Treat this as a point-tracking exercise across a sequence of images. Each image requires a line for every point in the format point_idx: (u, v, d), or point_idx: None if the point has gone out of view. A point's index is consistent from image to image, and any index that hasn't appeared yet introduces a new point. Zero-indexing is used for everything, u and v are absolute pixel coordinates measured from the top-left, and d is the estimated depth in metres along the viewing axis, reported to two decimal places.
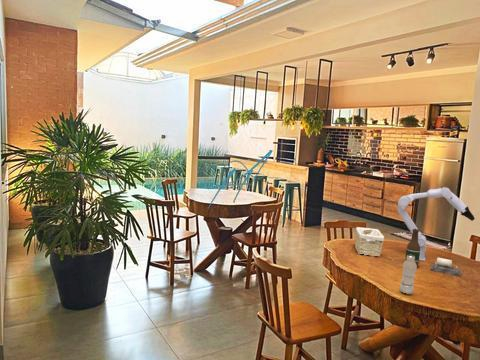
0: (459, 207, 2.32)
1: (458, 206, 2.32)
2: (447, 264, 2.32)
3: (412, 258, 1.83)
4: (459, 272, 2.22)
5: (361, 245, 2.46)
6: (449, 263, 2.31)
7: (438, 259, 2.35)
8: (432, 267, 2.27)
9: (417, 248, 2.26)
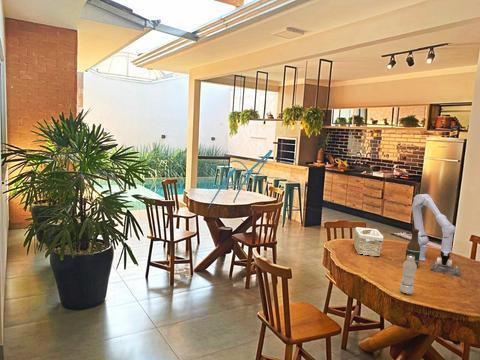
0: (445, 248, 2.32)
1: (445, 247, 2.31)
2: (447, 264, 2.32)
3: (412, 258, 1.83)
4: (459, 272, 2.22)
5: (360, 245, 2.45)
6: (449, 263, 2.31)
7: (438, 259, 2.35)
8: (432, 267, 2.27)
9: (417, 248, 2.26)
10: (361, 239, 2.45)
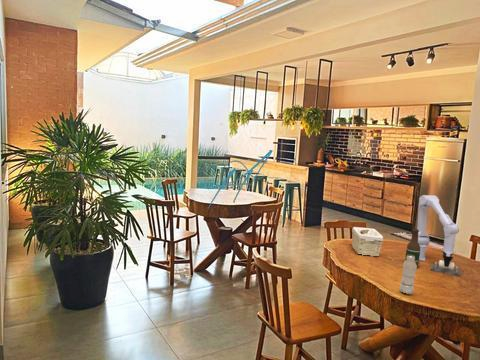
0: (447, 249, 2.22)
1: (447, 247, 2.22)
2: (449, 267, 2.22)
3: (412, 258, 1.83)
4: (459, 272, 2.22)
5: (360, 245, 2.45)
6: (452, 266, 2.22)
7: (440, 262, 2.25)
8: (432, 267, 2.27)
9: (417, 248, 2.26)
10: (361, 239, 2.44)
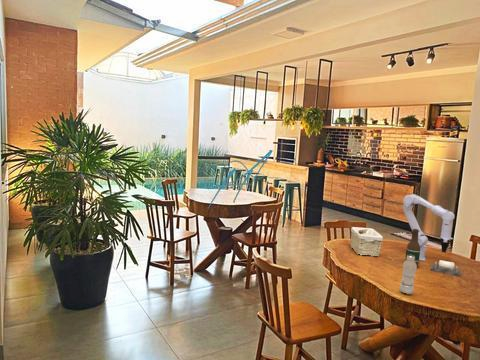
0: (444, 235, 2.34)
1: (445, 234, 2.34)
2: (449, 267, 2.22)
3: (412, 258, 1.83)
4: (459, 272, 2.22)
5: (360, 245, 2.44)
6: (452, 266, 2.22)
7: (440, 262, 2.26)
8: (432, 267, 2.27)
9: (417, 248, 2.26)
10: (361, 239, 2.44)
